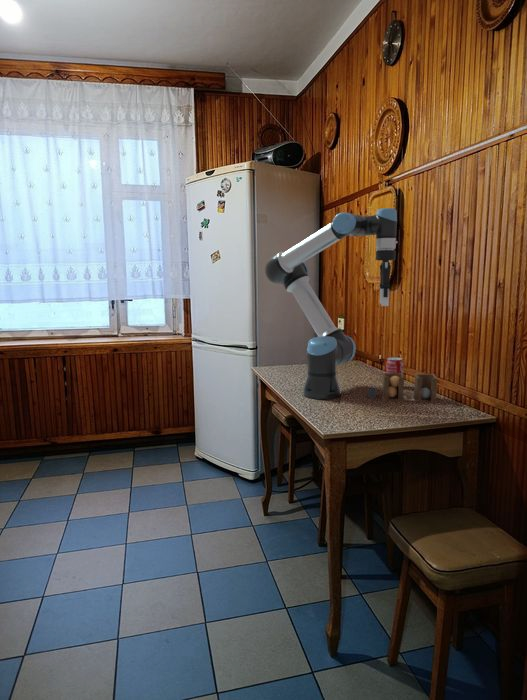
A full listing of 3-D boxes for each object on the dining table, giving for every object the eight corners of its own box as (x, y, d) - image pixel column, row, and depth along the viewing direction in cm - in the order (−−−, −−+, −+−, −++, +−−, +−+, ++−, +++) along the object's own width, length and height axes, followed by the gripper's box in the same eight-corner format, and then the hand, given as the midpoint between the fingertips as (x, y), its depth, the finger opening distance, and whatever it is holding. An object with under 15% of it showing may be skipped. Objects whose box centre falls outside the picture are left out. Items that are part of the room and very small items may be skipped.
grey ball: (419, 400, 179) (420, 388, 178) (418, 397, 183) (418, 386, 182) (431, 400, 178) (432, 389, 177) (429, 397, 182) (430, 386, 182)
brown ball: (388, 379, 181) (397, 372, 181) (386, 381, 185) (394, 374, 185) (395, 388, 180) (404, 381, 180) (392, 390, 184) (401, 383, 184)
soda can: (403, 390, 198) (404, 360, 196) (385, 389, 199) (386, 359, 197) (401, 386, 205) (402, 357, 203) (384, 385, 206) (385, 356, 204)
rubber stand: (367, 400, 183) (368, 389, 183) (367, 398, 186) (367, 387, 186) (375, 400, 183) (376, 389, 182) (375, 398, 186) (375, 387, 185)
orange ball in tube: (387, 400, 181) (384, 389, 181) (386, 396, 186) (383, 386, 185) (398, 397, 180) (396, 387, 180) (397, 394, 185) (395, 384, 184)
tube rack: (382, 402, 180) (383, 376, 179) (381, 397, 187) (382, 372, 186) (437, 404, 177) (438, 378, 175) (434, 399, 184) (435, 374, 182)
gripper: (398, 248, 168) (396, 307, 172) (393, 251, 193) (391, 302, 196) (377, 248, 170) (375, 307, 173) (374, 251, 194) (373, 302, 197)
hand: (384, 304), depth 185 cm, fingers open, 13 cm apart
